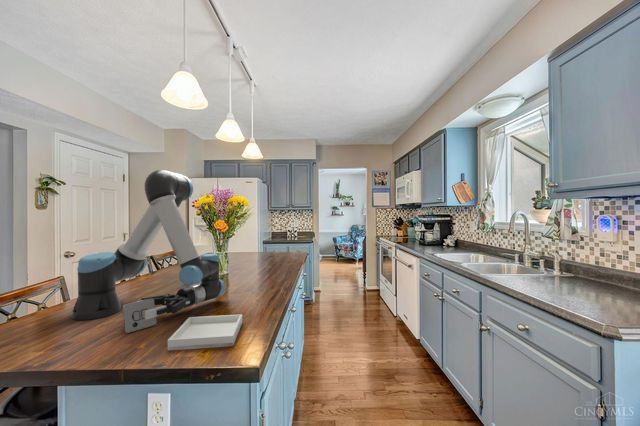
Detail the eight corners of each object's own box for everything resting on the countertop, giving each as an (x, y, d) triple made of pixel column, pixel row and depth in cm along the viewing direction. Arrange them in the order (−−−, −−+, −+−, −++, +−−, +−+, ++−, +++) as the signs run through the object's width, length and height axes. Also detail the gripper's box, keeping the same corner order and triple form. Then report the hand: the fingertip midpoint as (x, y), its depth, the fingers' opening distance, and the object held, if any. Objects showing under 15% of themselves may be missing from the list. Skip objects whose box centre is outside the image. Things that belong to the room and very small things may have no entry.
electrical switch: (126, 334, 90) (125, 305, 91) (120, 331, 94) (120, 303, 94) (157, 325, 98) (156, 298, 98) (151, 323, 101) (150, 297, 102)
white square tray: (189, 325, 97) (189, 317, 97) (242, 322, 99) (242, 314, 99) (167, 350, 79) (167, 340, 79) (233, 346, 81) (232, 335, 81)
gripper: (211, 310, 106) (155, 330, 88) (171, 300, 119) (115, 316, 100) (211, 290, 106) (155, 306, 88) (171, 283, 119) (115, 296, 100)
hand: (134, 312), depth 94 cm, fingers open, 13 cm apart
